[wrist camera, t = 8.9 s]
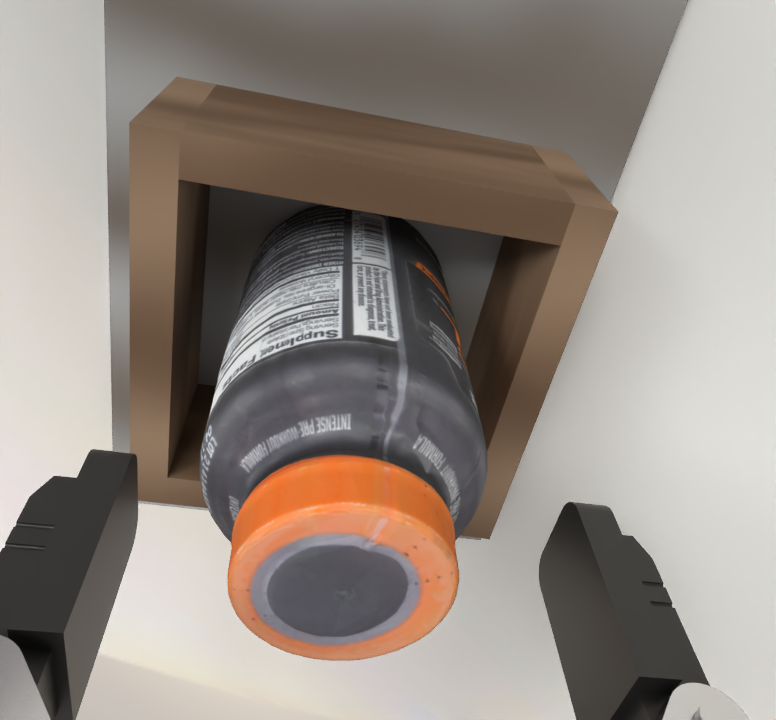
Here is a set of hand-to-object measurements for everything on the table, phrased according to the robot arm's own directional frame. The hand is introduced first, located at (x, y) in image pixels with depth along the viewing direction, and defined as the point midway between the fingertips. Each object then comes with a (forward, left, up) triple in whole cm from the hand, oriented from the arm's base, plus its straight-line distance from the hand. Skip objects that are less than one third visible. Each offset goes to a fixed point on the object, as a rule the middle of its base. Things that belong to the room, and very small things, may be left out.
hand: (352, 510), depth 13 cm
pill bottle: (0, 0, -10) cm, 10 cm away
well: (0, 0, -10) cm, 10 cm away
